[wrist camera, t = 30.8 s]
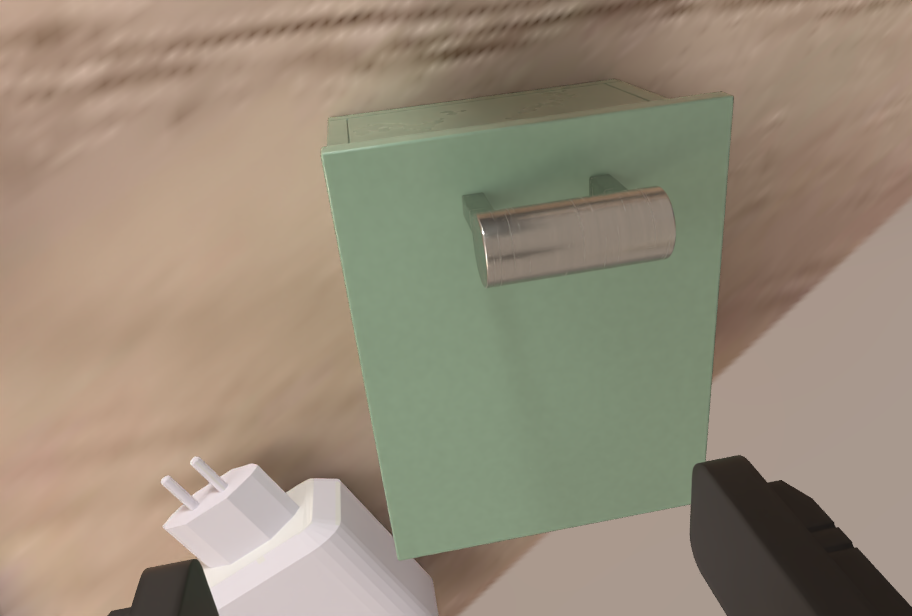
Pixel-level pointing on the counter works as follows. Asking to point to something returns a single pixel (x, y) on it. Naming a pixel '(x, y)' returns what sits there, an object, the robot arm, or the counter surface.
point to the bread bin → (484, 110)
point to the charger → (294, 549)
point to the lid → (535, 314)
